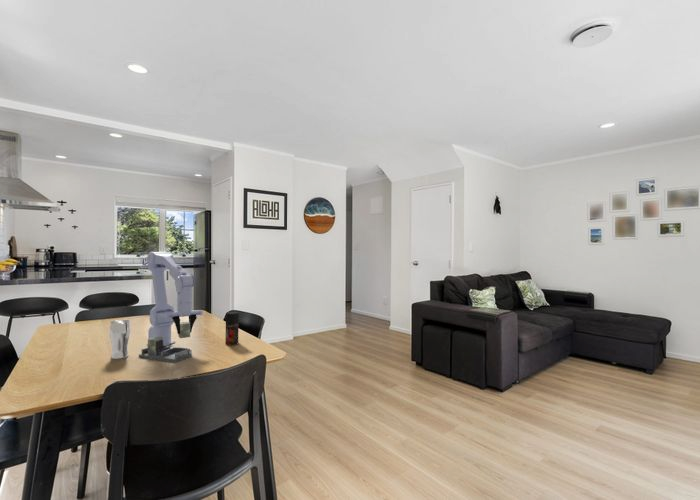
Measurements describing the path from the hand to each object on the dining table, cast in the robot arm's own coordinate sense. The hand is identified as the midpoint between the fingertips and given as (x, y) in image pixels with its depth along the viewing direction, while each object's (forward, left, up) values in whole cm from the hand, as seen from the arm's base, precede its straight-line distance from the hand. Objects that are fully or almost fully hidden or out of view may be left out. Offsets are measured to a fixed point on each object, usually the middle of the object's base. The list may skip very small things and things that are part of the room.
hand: (184, 332), depth 152 cm
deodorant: (+11, +19, -9) cm, 23 cm away
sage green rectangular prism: (0, 0, -2) cm, 2 cm away
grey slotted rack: (-3, -7, -9) cm, 12 cm away
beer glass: (-20, -14, -9) cm, 26 cm away
